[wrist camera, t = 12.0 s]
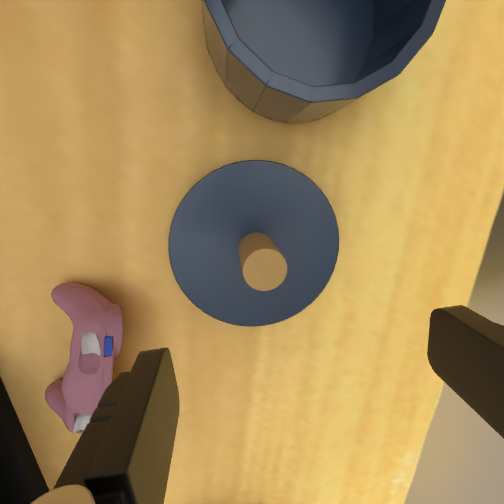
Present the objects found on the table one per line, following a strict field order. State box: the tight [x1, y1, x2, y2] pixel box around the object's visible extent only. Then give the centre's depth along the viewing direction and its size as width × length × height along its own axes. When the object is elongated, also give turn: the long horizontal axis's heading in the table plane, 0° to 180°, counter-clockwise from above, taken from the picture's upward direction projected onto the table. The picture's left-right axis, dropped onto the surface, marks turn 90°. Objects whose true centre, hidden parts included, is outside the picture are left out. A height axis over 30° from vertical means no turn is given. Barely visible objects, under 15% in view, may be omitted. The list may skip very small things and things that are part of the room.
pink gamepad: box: [45, 282, 123, 433], centre depth 20 cm, size 10×5×7 cm, turn 167°
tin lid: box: [169, 160, 339, 326], centre depth 19 cm, size 12×12×6 cm
